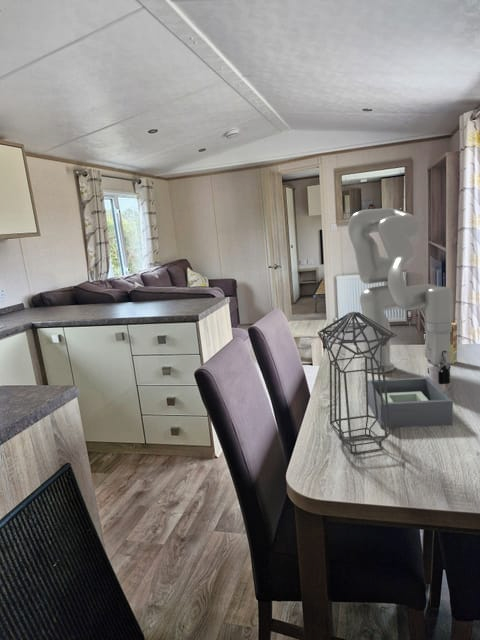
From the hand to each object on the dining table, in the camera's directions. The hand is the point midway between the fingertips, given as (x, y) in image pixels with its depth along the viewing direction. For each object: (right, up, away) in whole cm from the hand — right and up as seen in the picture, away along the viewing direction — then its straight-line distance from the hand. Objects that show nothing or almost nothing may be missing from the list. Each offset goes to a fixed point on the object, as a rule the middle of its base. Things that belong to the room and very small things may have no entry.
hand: (438, 378), depth 140 cm
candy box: (+16, +3, +30) cm, 34 cm away
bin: (-15, -8, -11) cm, 20 cm away
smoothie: (0, -5, +1) cm, 5 cm away
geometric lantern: (-33, -13, -26) cm, 44 cm away
